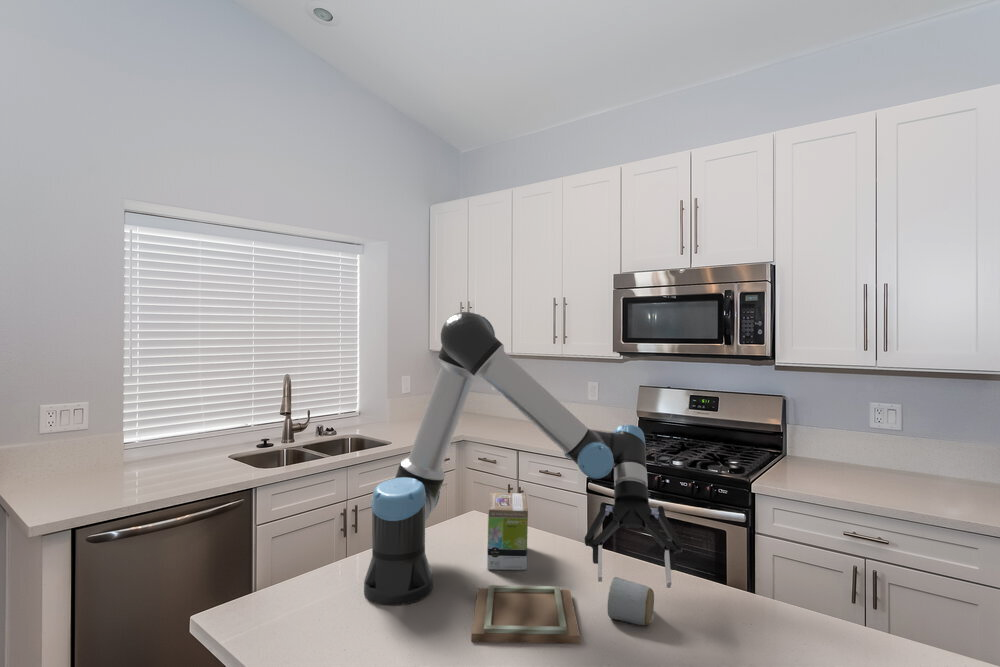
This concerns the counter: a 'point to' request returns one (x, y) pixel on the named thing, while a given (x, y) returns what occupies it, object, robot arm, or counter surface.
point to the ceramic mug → (630, 602)
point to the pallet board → (524, 615)
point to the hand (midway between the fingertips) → (634, 582)
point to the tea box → (507, 531)
